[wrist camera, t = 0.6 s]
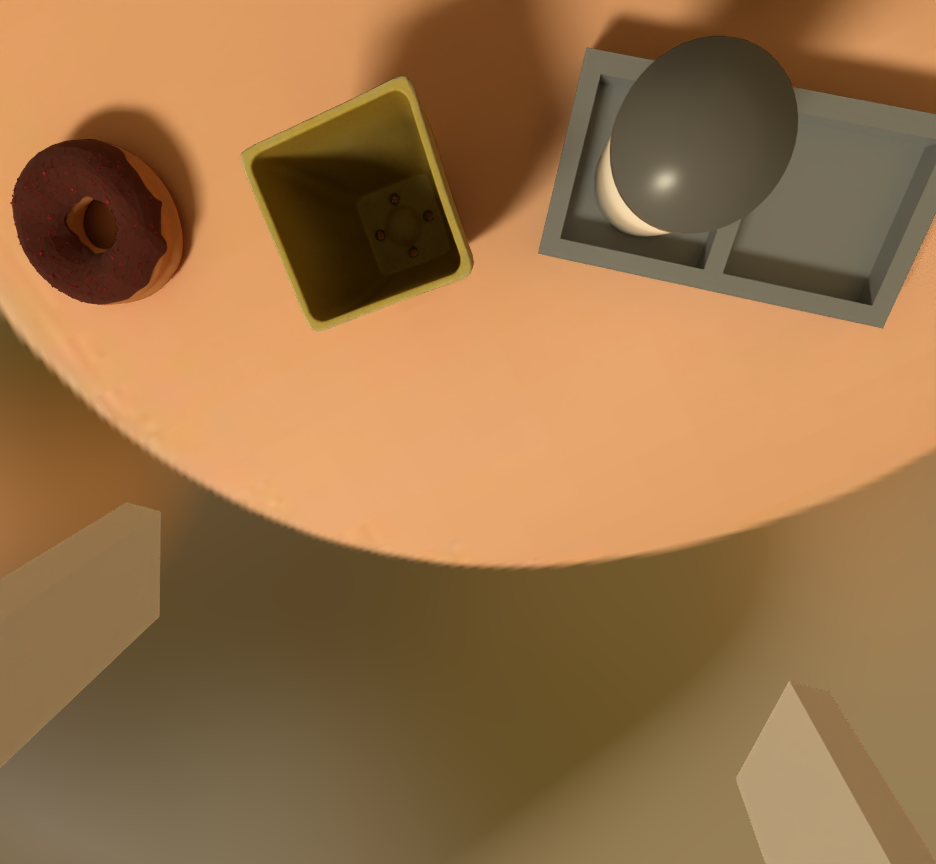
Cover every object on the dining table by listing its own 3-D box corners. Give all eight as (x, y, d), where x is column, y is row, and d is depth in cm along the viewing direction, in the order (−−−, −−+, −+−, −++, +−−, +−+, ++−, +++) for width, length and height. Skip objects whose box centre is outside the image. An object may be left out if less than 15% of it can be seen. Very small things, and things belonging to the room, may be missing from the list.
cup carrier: (583, 64, 29) (605, -53, 18) (941, 133, 28) (1198, 53, 17) (538, 253, 33) (534, 252, 22) (857, 322, 32) (1027, 359, 20)
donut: (186, 151, 34) (141, 138, 30) (196, 310, 37) (157, 316, 33) (40, 138, 35) (-21, 124, 31) (62, 294, 38) (9, 298, 34)
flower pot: (313, 177, 33) (233, 151, 25) (445, 120, 31) (407, 69, 23) (367, 316, 35) (310, 335, 27) (493, 270, 33) (475, 275, 25)
